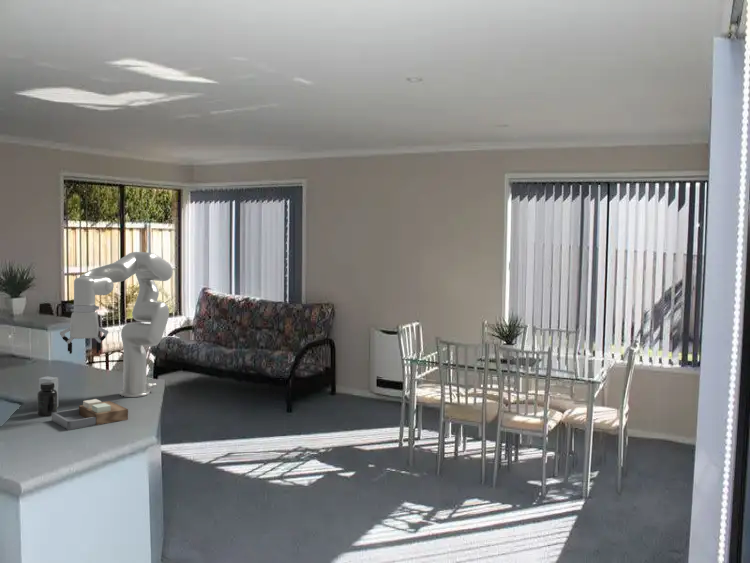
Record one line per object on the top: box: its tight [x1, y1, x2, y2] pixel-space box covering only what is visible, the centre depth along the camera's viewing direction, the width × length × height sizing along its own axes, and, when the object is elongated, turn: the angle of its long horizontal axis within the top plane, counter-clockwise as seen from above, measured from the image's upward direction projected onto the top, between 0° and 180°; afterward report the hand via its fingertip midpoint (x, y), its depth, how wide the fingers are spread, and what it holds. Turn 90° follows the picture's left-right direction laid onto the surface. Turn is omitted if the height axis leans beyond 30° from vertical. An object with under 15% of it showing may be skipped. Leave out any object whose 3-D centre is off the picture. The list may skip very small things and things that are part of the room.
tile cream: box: [82, 398, 103, 409], centre depth 251 cm, size 5×5×2 cm
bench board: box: [78, 400, 129, 426], centre depth 250 cm, size 12×16×4 cm
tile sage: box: [92, 403, 111, 413], centre depth 245 cm, size 5×5×2 cm
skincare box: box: [38, 376, 59, 408], centre depth 262 cm, size 6×4×12 cm
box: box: [51, 407, 97, 431], centre depth 242 cm, size 10×16×3 cm, turn 46°
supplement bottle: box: [36, 382, 58, 417], centre depth 252 cm, size 7×7×12 cm
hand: (84, 352), depth 255 cm, fingers open, 9 cm apart
